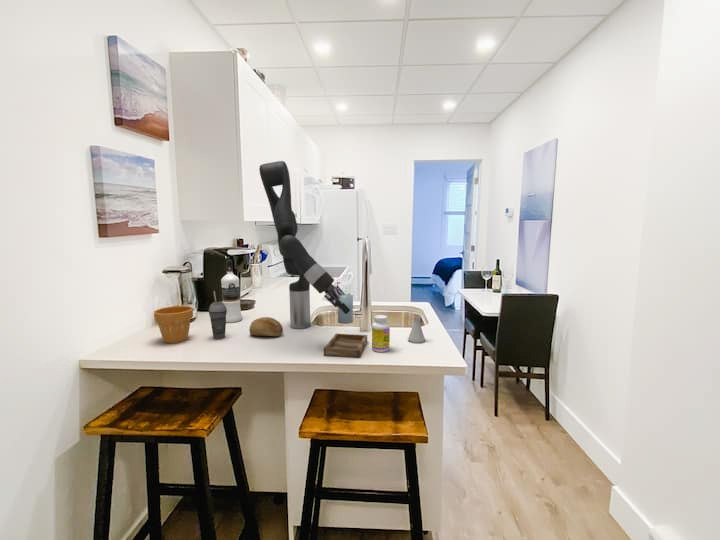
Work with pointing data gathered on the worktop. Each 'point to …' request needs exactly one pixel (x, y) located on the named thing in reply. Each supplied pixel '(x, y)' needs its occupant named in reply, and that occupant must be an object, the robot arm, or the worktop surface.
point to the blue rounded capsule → (348, 302)
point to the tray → (345, 345)
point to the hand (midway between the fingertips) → (350, 310)
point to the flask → (416, 331)
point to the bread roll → (266, 327)
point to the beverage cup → (218, 318)
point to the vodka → (231, 295)
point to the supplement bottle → (380, 334)
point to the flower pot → (174, 322)
